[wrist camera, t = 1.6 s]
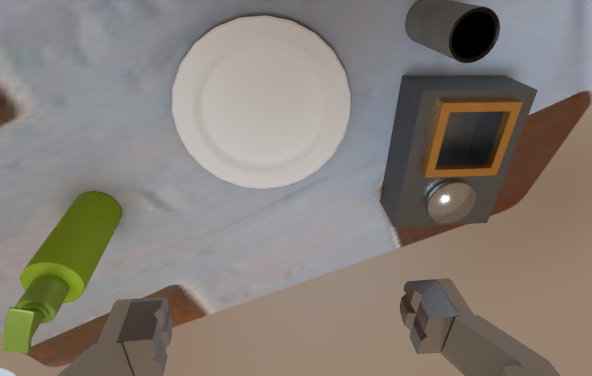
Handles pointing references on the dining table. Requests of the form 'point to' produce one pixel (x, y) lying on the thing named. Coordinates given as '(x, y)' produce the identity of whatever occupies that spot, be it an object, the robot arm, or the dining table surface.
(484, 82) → the grey box with knob
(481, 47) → the grey cylinder
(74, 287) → the soap dispenser
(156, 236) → the dining table surface
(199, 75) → the plate
